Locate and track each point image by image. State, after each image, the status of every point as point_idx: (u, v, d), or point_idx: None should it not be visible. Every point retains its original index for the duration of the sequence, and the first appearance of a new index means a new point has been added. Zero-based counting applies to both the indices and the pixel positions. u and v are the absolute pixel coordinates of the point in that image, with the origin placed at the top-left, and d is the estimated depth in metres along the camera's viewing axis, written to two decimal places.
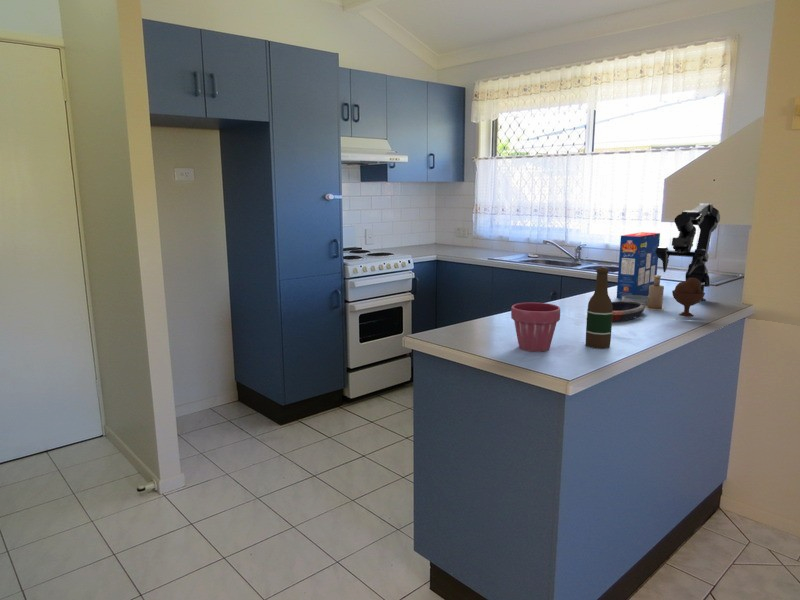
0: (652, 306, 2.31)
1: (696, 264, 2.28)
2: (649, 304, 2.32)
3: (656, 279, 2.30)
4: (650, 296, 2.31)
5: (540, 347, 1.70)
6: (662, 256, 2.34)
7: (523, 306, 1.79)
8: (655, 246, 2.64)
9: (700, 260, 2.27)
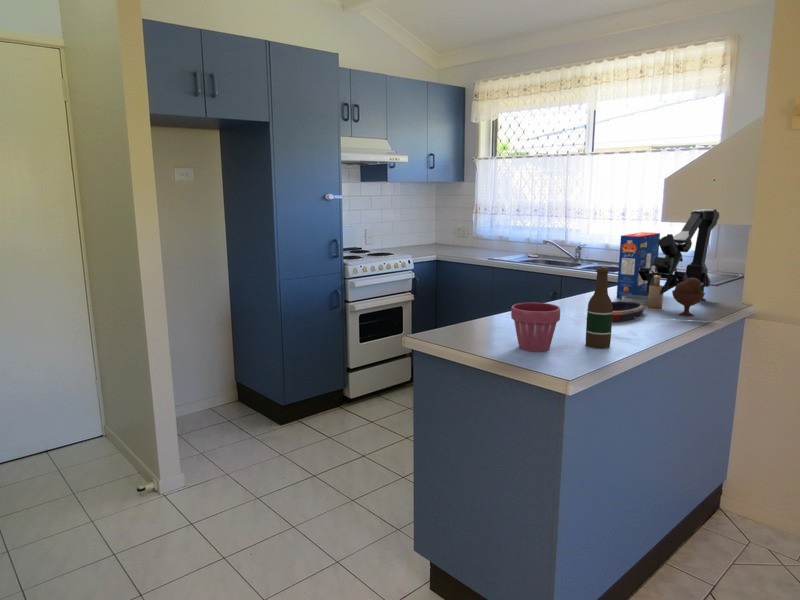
0: (652, 306, 2.31)
1: (671, 285, 2.30)
2: (649, 304, 2.32)
3: (656, 279, 2.30)
4: (650, 296, 2.31)
5: (540, 347, 1.70)
6: (648, 276, 2.35)
7: (523, 306, 1.79)
8: (655, 246, 2.64)
9: (675, 282, 2.29)
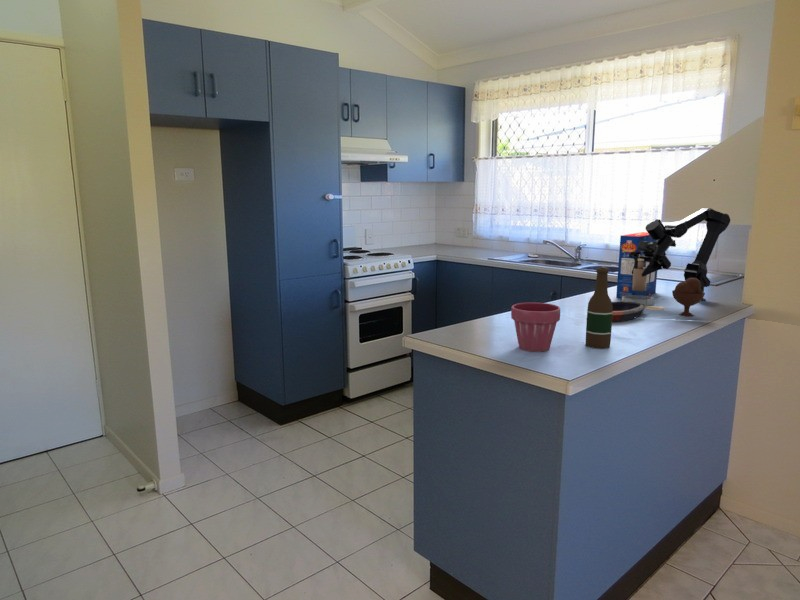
0: (634, 288, 2.41)
1: (654, 269, 2.38)
2: (632, 286, 2.43)
3: (639, 262, 2.40)
4: (633, 278, 2.42)
5: (540, 347, 1.70)
6: (635, 260, 2.45)
7: (523, 306, 1.79)
8: None
9: (657, 265, 2.37)
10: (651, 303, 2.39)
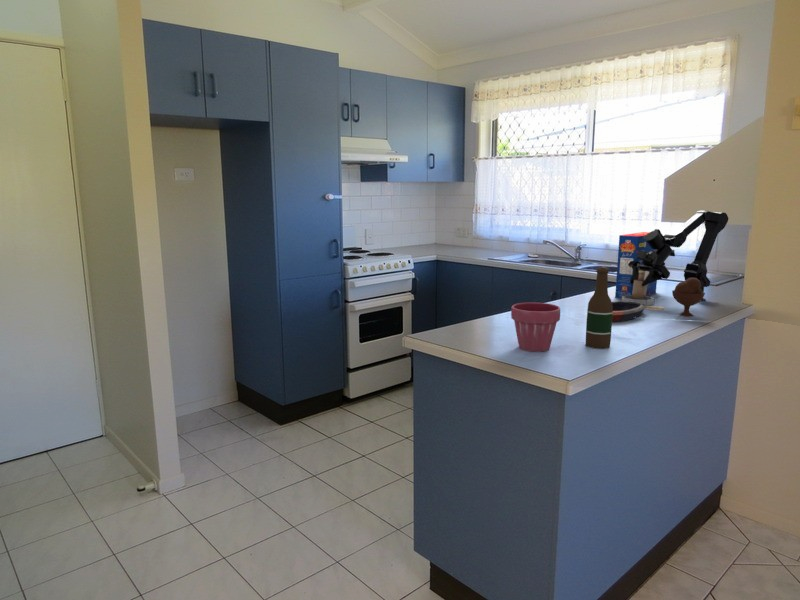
0: None
1: (654, 278, 2.38)
2: (632, 297, 2.44)
3: (640, 274, 2.41)
4: (633, 290, 2.43)
5: (540, 347, 1.70)
6: (633, 269, 2.46)
7: (523, 306, 1.79)
8: None
9: (657, 275, 2.37)
10: (651, 303, 2.39)
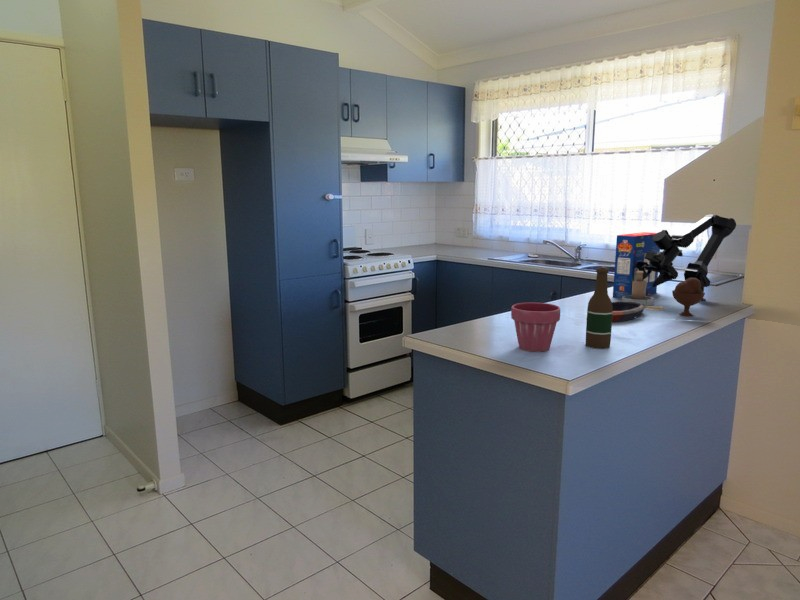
0: None
1: (664, 279, 2.39)
2: (631, 298, 2.44)
3: (638, 274, 2.41)
4: (632, 290, 2.43)
5: (540, 347, 1.70)
6: (639, 269, 2.49)
7: (523, 306, 1.79)
8: (655, 246, 2.64)
9: (668, 276, 2.38)
10: (651, 303, 2.39)
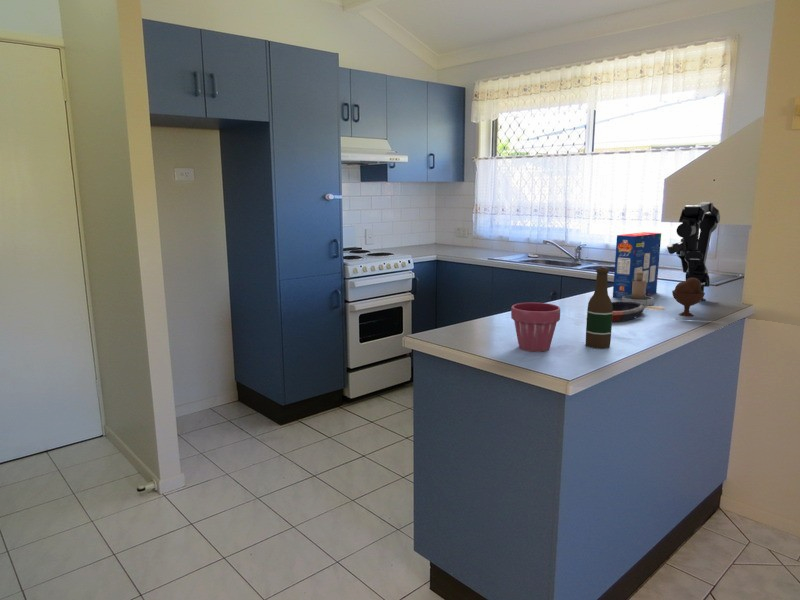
0: None
1: (695, 263, 2.33)
2: (631, 298, 2.44)
3: (638, 274, 2.41)
4: (632, 290, 2.43)
5: (540, 347, 1.70)
6: None
7: (523, 306, 1.79)
8: (655, 246, 2.64)
9: (694, 260, 2.32)
10: (651, 303, 2.39)
